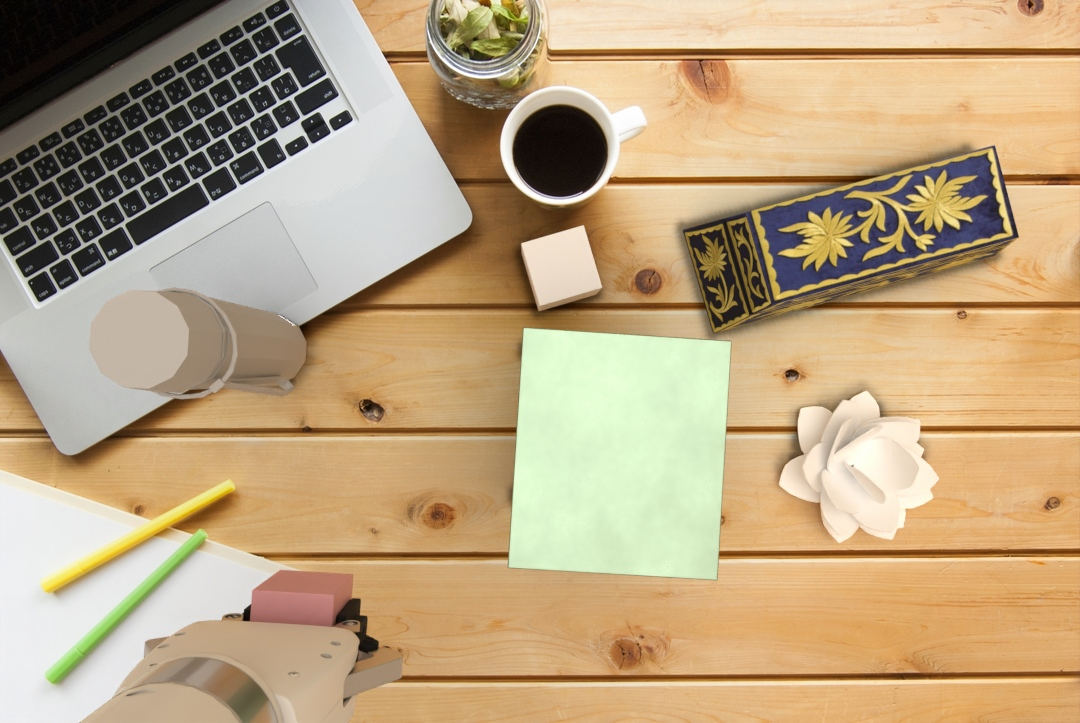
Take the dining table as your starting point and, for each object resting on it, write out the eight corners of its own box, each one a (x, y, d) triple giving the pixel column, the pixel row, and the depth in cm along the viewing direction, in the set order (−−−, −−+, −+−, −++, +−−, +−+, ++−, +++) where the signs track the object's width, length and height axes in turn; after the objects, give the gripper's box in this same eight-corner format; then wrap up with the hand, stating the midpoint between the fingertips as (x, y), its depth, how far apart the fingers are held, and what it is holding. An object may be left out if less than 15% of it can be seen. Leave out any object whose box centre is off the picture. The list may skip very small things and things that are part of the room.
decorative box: (682, 230, 73) (704, 210, 64) (968, 152, 74) (1029, 122, 65) (711, 334, 73) (737, 328, 64) (997, 255, 74) (1062, 239, 65)
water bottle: (218, 348, 72) (55, 335, 47) (278, 295, 72) (148, 254, 47) (280, 418, 72) (150, 442, 47) (340, 365, 72) (242, 361, 47)
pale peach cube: (538, 311, 73) (539, 306, 67) (521, 254, 73) (520, 243, 67) (596, 294, 73) (602, 287, 67) (579, 237, 73) (583, 224, 67)
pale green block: (654, 512, 73) (717, 580, 49) (513, 503, 72) (507, 568, 48) (664, 351, 73) (732, 340, 49) (524, 342, 73) (523, 327, 49)
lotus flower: (767, 398, 73) (811, 397, 64) (905, 387, 75) (966, 384, 66) (780, 544, 72) (827, 562, 63) (920, 528, 74) (983, 544, 65)
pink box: (347, 663, 49) (326, 694, 44) (273, 659, 49) (244, 689, 44) (353, 573, 50) (334, 594, 45) (280, 569, 50) (252, 589, 45)
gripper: (-26, 832, 31) (180, 667, 49) (379, 855, 31) (435, 682, 49) (-10, 652, 31) (189, 554, 49) (392, 676, 31) (442, 569, 49)
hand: (311, 619), depth 49 cm, fingers closed on pink box, 5 cm apart
